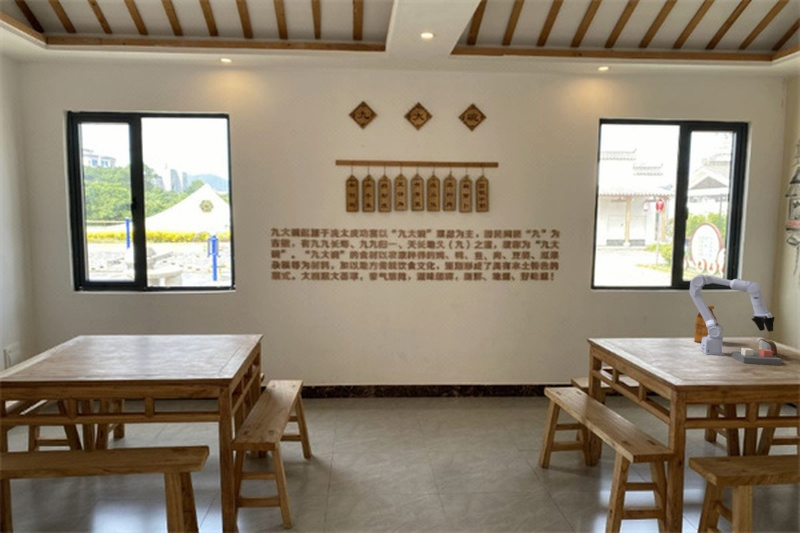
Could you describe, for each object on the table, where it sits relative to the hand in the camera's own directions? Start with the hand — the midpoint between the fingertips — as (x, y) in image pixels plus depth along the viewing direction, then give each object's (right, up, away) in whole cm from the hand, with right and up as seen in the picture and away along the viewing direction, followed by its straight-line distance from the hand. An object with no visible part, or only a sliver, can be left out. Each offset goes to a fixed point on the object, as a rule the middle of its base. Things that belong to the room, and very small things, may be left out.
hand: (766, 330), depth 265 cm
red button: (0, -14, +1) cm, 13 cm away
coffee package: (-7, -12, +41) cm, 43 cm away
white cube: (-9, -13, +2) cm, 16 cm away
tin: (+10, -15, +14) cm, 23 cm away
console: (-5, -16, +1) cm, 17 cm away
